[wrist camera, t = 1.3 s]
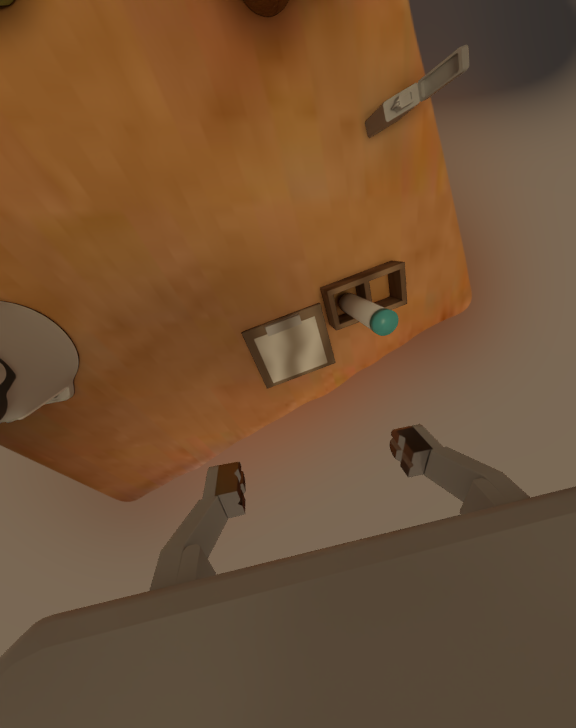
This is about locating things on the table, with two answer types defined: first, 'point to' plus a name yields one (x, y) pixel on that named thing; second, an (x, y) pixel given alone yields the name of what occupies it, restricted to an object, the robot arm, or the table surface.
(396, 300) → the box
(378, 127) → the lighter
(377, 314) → the marker
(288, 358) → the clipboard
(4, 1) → the plant pot
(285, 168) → the table surface
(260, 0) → the disposable coffee cup
